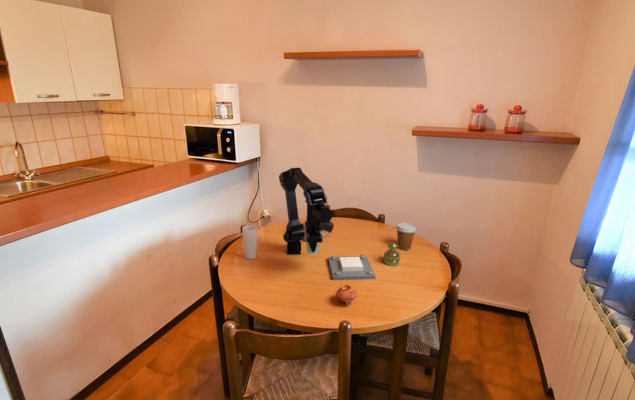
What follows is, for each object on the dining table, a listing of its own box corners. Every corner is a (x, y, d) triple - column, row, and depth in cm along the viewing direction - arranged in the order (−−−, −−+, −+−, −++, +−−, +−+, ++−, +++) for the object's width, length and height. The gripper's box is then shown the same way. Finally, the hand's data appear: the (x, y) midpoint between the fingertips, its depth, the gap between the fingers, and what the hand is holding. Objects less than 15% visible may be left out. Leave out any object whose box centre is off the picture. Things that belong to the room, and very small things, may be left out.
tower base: (333, 280, 144) (333, 272, 143) (328, 259, 161) (328, 252, 160) (375, 278, 146) (376, 271, 145) (366, 258, 163) (366, 252, 162)
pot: (360, 306, 127) (357, 291, 125) (339, 311, 127) (336, 296, 125) (356, 293, 135) (353, 278, 132) (336, 297, 135) (333, 283, 132)
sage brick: (307, 254, 147) (307, 243, 145) (306, 249, 152) (307, 238, 150) (319, 254, 147) (319, 243, 146) (318, 249, 152) (318, 238, 150)
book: (309, 228, 198) (310, 220, 197) (328, 236, 188) (328, 228, 186) (290, 234, 189) (290, 226, 187) (308, 243, 178) (308, 235, 177)
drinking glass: (251, 262, 158) (250, 231, 153) (240, 258, 161) (238, 228, 156) (261, 256, 163) (260, 226, 159) (250, 252, 167) (249, 223, 162)
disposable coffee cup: (410, 253, 169) (413, 231, 166) (391, 249, 174) (394, 226, 170) (415, 246, 177) (418, 224, 173) (397, 242, 182) (399, 221, 178)
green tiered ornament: (399, 267, 156) (401, 247, 153) (383, 265, 157) (384, 245, 154) (399, 259, 163) (401, 240, 160) (383, 258, 164) (385, 238, 161)
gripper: (335, 223, 136) (334, 258, 141) (330, 207, 154) (329, 239, 159) (307, 223, 135) (307, 259, 140) (305, 207, 153) (304, 240, 158)
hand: (313, 249), depth 149 cm, fingers closed on sage brick, 5 cm apart
